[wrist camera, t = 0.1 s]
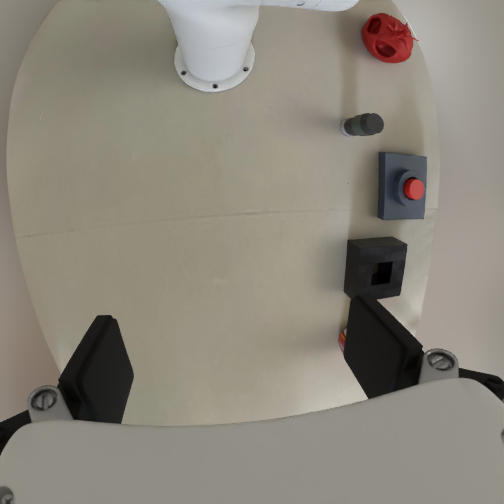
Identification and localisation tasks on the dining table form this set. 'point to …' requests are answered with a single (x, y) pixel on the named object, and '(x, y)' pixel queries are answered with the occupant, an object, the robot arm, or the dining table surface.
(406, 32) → the red tomato
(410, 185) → the power button
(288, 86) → the dining table surface
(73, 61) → the dining table surface
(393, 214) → the station
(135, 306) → the dining table surface
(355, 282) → the holder
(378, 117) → the banded grey cylinder
